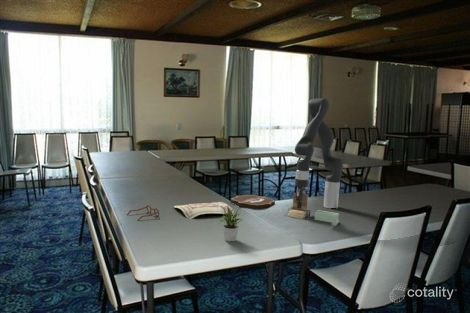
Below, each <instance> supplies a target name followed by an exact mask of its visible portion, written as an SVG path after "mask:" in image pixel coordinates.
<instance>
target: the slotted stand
mask: <svg viewBox="0 0 470 313" xmlns="http://www.w3.org/2000/svg"><path fill="white" fill-rule="evenodd" d="M314 215H315V216H314V219H313V220H315V221H322V222H326V223H327V222H328V223H329V225H330V226H334V227H336V226H337V225H338V224H339V215H340V213H337V212H332V211H324V210H321V209H317V210H316V211H315V213H314Z"/></svg>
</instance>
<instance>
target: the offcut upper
mask: <svg viewBox="0 0 470 313" xmlns="http://www.w3.org/2000/svg"><path fill="white" fill-rule="evenodd" d="M287 213H288V212H287ZM288 214H293V215H299V216H305V215H306V212H305V211H298V210H290V211H289V213H288Z"/></svg>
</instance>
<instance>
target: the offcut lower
mask: <svg viewBox="0 0 470 313" xmlns="http://www.w3.org/2000/svg"><path fill="white" fill-rule="evenodd" d="M288 216H290V217H289V218H292V217H296V218H295V219H298V218H301V219H300V220H303V218H305V217H306V215H305V216H299V215H293V214H288Z"/></svg>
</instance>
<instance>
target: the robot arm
mask: <svg viewBox="0 0 470 313" xmlns="http://www.w3.org/2000/svg"><path fill="white" fill-rule="evenodd" d="M329 108H330V102H329V100H328V99H327V98H325V97H321V98H319V97H318V98H312V99H310V100H309V101H308V111H309V113H310V116H311V119H312V120H310V122H309V123H307V125H306V126H305V128H304V130H303V134H302V136H301V137H300V139H299V140H298V141H297V143H296V144H295V147H294V152H295V154H296V155H297V156H302V157H304V158H303V159H298V160H297V163H296V171H295V180H294V186H295V187H297V189H296V192H295V193H296V201H297V202H298V203H297V208H301V203H302V198H303V194H305V195H306V192H307V190H306V188H308V187H309V182H310V181H309V179H310V164H311V160H312V157H313V154H314V152H315V149H314V145H313V144H312V143H314V141H315V139H316V136H317V139H318V142H319V146H320V150H321V153H322V160H323V161H322V162H323V165H324V168H325V169H326V170H327V171H331V172H332V174H331V175H326V177H325V184H324V195H323V207H324V208H326V209H331V208H336V209H338V208H339V195H340V188H341V187H340V186H341V178H342V175H343V167H344V162H343V159H342V158H341V157H338V156H337V157H336V156H332V153H331V148H332V146H333V143H334V141H335V140H334V139H335V138H334V134H333V130H332V128H331V127H330V126H329V124H327V123H326V121H324V119H325V117H326V115H327V114H328V111H329Z"/></svg>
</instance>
